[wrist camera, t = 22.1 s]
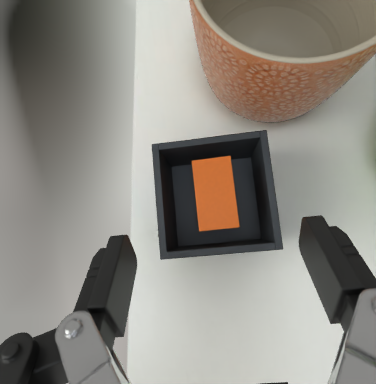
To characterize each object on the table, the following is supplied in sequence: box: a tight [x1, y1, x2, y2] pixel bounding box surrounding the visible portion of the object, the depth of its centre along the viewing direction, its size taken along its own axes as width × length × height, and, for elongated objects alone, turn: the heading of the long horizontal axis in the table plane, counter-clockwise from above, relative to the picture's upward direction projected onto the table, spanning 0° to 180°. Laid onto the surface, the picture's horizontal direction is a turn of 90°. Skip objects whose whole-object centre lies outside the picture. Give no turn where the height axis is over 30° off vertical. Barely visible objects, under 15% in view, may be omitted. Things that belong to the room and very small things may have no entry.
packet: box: [192, 156, 240, 231], centre depth 34 cm, size 4×8×10 cm, turn 6°
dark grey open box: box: [152, 130, 283, 259], centre depth 35 cm, size 14×14×10 cm
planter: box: [189, 0, 376, 122], centre depth 33 cm, size 21×21×19 cm
